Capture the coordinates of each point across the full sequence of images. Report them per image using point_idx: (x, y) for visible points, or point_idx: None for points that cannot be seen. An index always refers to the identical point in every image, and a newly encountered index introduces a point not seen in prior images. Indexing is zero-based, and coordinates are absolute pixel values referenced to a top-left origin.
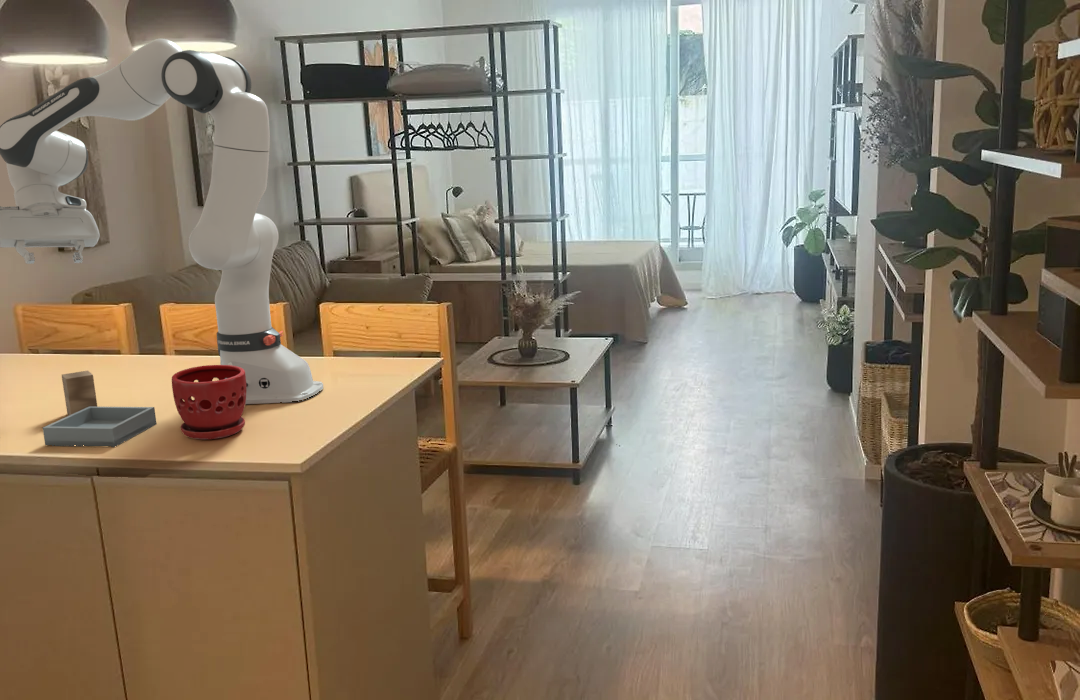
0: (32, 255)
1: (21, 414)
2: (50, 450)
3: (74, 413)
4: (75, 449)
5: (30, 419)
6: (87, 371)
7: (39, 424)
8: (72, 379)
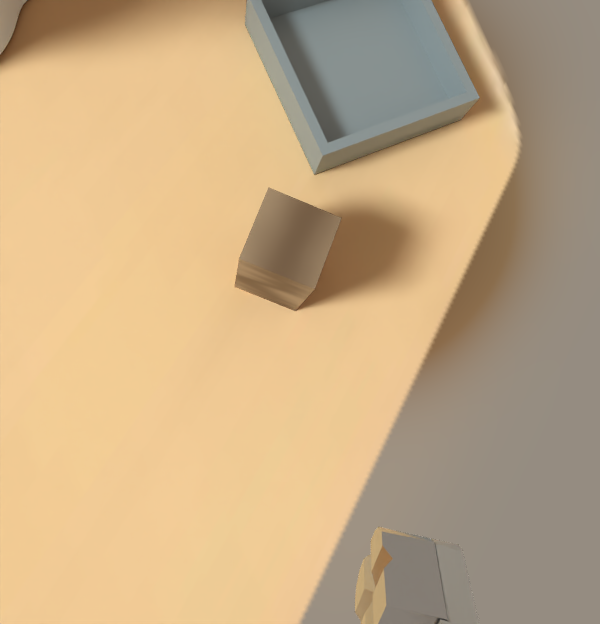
0: (403, 567)
1: (355, 431)
2: None
3: (378, 133)
4: None
5: (369, 357)
6: (248, 246)
7: (381, 290)
8: (323, 213)
